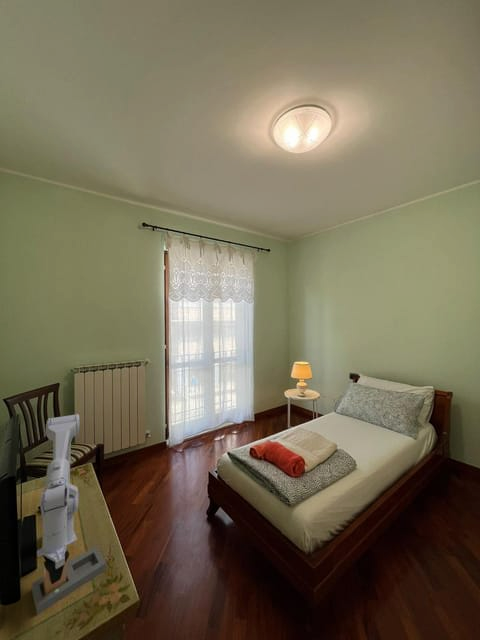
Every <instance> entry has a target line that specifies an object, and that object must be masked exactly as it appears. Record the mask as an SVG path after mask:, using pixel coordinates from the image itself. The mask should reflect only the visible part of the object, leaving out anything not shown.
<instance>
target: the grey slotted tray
mask: <svg viewBox="0 0 480 640" xmlns="http://www.w3.org/2000/svg"><path fill="white" fill-rule="evenodd" d="M106 570H107V563H106V561H105V559H104V557H103V556H102V554H101V552H100V550H99V548H98V546H96V545H95V546H93V548H90V549H89V550H87V551H85V552H84V553H82V554H81V555H80V554H79V556H77V557H75V558H73V559H72V560H70V561H67V567H66V583H65V584H63V585H61V586H60V587H58V588H57V589H55V590H53V591H52V592H50V593H49V594H47V595H45V592H44V588H43V587H44V576H42V577H40V578H38V579H37V580H34V581H33V582H31V592H32V598H33V602H34V607H35V611H36V616H38V615H39V614H41V613H42V612H44V611H46V610H47V609H48V608H50V607H52V606H53V605H55V604H56V603H57V602H59V601H60V600H63V599H64V598H65V597H67V596H69V594H72V593H73V592H74V591H76V590H77V589H79V588H80V587H82V586H84V585H85V584H86V583H88V582H90V581H91V580H93V579H94V578H96V577H98V576H99V575H100V574H102V573H104V572H105V571H106Z"/></svg>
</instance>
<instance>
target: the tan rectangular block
mask: <svg viewBox="0 0 480 640" xmlns="http://www.w3.org/2000/svg"><path fill="white" fill-rule="evenodd" d="M67 563H68V561H66V562H65V565H64V568H63V571H62V575H61V579H60V580H58V581H57V582H55V583H54V584H51V581H50V576H49V572H48V571H47V570H46V568H45V566H44V565H43V577H44V587H43V588H44V592H45V595H47V594H49V593H50V592H52V591H53V590H55V589H57V588H58V587H60V586H61V585H63V584H65V583H66V567H67Z"/></svg>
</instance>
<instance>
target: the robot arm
mask: <svg viewBox="0 0 480 640" xmlns="http://www.w3.org/2000/svg"><path fill="white" fill-rule="evenodd" d="M79 432H80V414H78V413H76V414H71V415H65V416H57V417H49V418H48V419H47V420H46V424H45V436H46V437H47V438H48V440H49V441H53V442H52V443H53V444H52V446H53V447H52V461H51V462H50V463H49V464H48V465H47V467H46V469H47V470H46V475H45V476H46V478H45V485H44V491H42V492H41V497H40V503H39V504H40V513H41V519H42V544H41V545H42V547H41V548H39V549H38V550H37V551H36V555H37V557H38V558H39V557H41V556H42V557H43V558H44V560H45V561H43V567H44V566H45V568H46V570H47V571H48V572H49V576H50V581H51V584H54V583H55V582H57V581H58V580H60V579H61V575H62V571H63V568H64V565H65V562H66V561H67V560H68V558H69V557H70V552H69V550H67V546H68V545H70V544H72V543H73V542H76V541H77V540H78V538H77V535H76V533H75V530H74V526H75V525H74V523H75V519H74V518H75V513H77V511H78V510H79V488H78V487H77V485H73V484H72V483H71V482H70V479H71V477H70V476H71V451H72V450H71V449H72V448H71V447H72V445H71V444H72V440H73V438H74V437H76V436H78V435H79ZM67 562H68V561H67Z"/></svg>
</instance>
